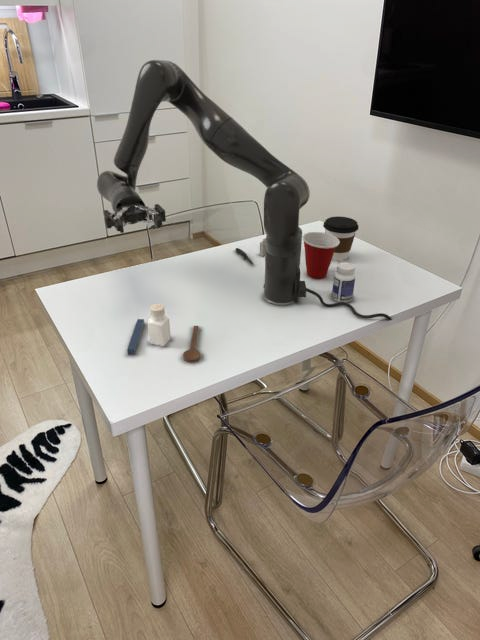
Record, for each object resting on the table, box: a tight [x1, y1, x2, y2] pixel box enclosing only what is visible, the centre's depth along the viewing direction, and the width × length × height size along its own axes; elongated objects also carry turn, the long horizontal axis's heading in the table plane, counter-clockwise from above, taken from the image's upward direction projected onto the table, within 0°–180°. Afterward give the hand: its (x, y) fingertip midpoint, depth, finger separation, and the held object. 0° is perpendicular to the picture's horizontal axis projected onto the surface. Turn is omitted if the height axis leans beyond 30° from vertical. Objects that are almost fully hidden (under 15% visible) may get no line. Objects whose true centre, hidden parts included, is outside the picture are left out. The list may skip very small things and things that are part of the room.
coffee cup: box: [322, 215, 359, 262], centre depth 155 cm, size 11×11×12 cm
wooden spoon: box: [182, 325, 202, 364], centre depth 116 cm, size 4×14×1 cm, turn 0°
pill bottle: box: [331, 261, 356, 303], centre depth 133 cm, size 6×6×10 cm
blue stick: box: [126, 318, 145, 356], centre depth 118 cm, size 2×13×2 cm, turn 0°
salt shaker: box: [147, 303, 172, 347], centre depth 115 cm, size 4×4×10 cm
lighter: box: [259, 237, 266, 257], centre depth 159 cm, size 7×2×8 cm, turn 133°
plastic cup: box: [302, 231, 340, 280], centre depth 144 cm, size 11×11×12 cm
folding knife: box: [235, 247, 254, 265], centre depth 156 cm, size 13×1×2 cm, turn 25°
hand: (140, 226), depth 113 cm, fingers open, 8 cm apart
